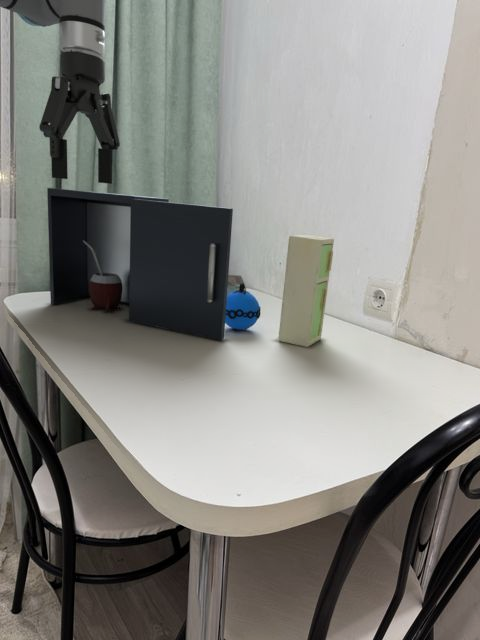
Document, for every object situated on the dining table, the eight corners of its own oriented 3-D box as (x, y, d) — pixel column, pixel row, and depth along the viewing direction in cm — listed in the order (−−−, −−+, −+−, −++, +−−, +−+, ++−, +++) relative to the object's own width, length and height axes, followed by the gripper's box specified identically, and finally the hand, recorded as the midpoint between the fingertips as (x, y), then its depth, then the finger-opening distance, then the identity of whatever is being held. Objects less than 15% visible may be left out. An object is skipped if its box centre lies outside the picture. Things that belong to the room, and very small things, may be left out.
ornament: (228, 322, 113) (231, 278, 111) (264, 328, 111) (268, 283, 108) (211, 330, 106) (214, 283, 103) (250, 337, 103) (254, 288, 100)
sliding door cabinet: (40, 305, 113) (36, 187, 106) (87, 297, 126) (86, 191, 119) (217, 343, 97) (226, 205, 90) (249, 328, 110) (260, 207, 103)
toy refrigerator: (311, 348, 99) (324, 239, 93) (277, 341, 102) (288, 235, 96) (324, 340, 106) (337, 238, 100) (292, 333, 109) (303, 234, 103)
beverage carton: (213, 309, 125) (215, 283, 124) (212, 295, 144) (214, 272, 142) (245, 311, 126) (247, 285, 125) (240, 297, 145) (242, 274, 143)
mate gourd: (125, 312, 114) (125, 245, 110) (88, 313, 111) (88, 243, 106) (117, 305, 120) (118, 241, 116) (83, 306, 117) (82, 240, 113)
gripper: (52, 32, 77) (55, 177, 83) (138, 74, 100) (136, 186, 106) (12, 32, 79) (18, 174, 85) (105, 73, 102) (105, 183, 108)
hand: (83, 181), depth 96 cm, fingers open, 13 cm apart
